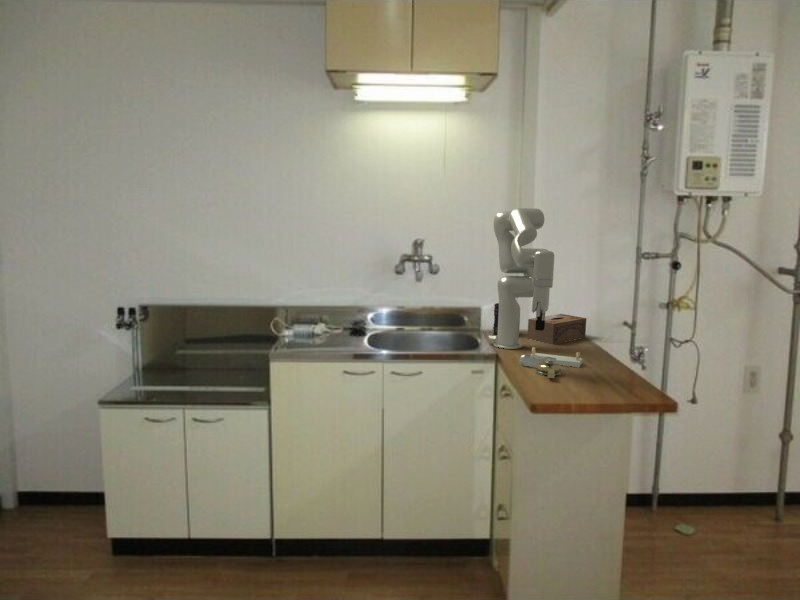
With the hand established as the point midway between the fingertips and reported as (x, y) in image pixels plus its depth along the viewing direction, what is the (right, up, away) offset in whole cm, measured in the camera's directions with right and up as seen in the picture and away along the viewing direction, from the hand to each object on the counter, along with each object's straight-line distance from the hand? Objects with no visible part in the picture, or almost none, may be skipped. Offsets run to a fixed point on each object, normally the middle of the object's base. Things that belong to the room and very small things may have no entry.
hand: (539, 329), depth 238 cm
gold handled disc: (+1, -15, -10) cm, 19 cm away
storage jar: (-4, -6, +62) cm, 62 cm away
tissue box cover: (+21, -7, +56) cm, 60 cm away
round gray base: (+2, -16, -7) cm, 17 cm away
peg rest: (+8, -14, +10) cm, 19 cm away
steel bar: (0, -15, +2) cm, 15 cm away
